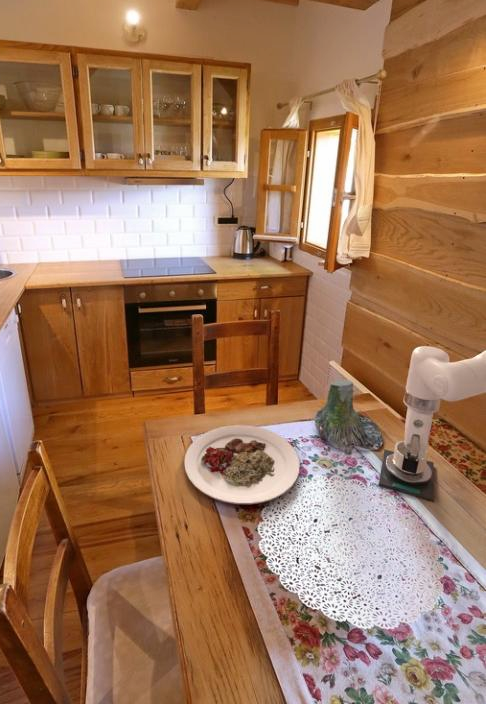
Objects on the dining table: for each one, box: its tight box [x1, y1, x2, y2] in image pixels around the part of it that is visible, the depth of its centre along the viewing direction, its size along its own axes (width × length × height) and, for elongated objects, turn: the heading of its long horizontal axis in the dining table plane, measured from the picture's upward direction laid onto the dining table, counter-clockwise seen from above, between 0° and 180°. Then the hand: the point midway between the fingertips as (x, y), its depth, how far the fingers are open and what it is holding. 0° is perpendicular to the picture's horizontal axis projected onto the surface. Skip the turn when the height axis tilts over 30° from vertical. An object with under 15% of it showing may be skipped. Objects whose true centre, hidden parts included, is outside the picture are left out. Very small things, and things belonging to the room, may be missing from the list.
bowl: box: [393, 440, 429, 474], centre depth 100 cm, size 7×7×4 cm
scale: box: [378, 448, 435, 503], centre depth 102 cm, size 12×14×2 cm
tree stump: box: [313, 379, 384, 454], centre depth 119 cm, size 18×20×18 cm
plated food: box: [183, 424, 300, 505], centre depth 107 cm, size 30×30×3 cm
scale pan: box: [386, 454, 432, 484], centre depth 101 cm, size 10×10×2 cm
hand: (409, 460), depth 100 cm, fingers closed on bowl, 7 cm apart
